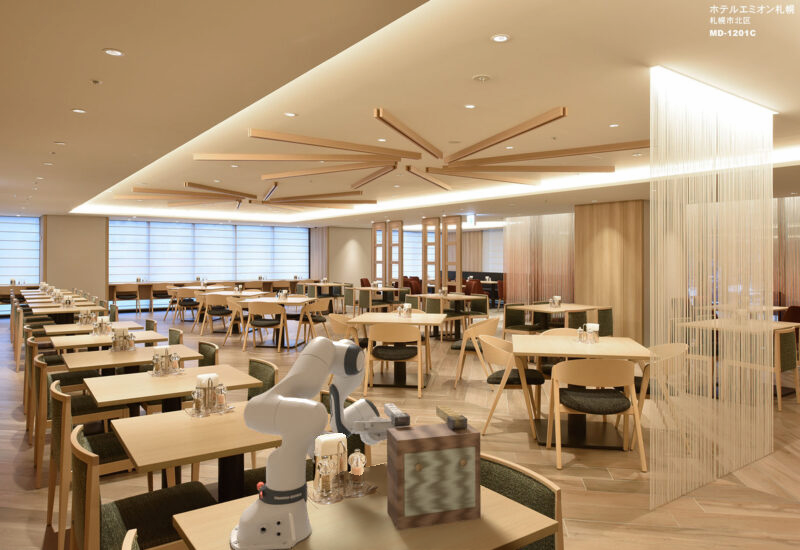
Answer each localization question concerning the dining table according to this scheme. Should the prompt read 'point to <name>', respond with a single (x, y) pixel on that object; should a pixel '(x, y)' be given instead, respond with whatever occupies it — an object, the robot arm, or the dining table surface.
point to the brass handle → (451, 418)
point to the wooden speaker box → (433, 475)
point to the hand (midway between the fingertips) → (385, 423)
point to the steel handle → (396, 415)
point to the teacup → (312, 447)
